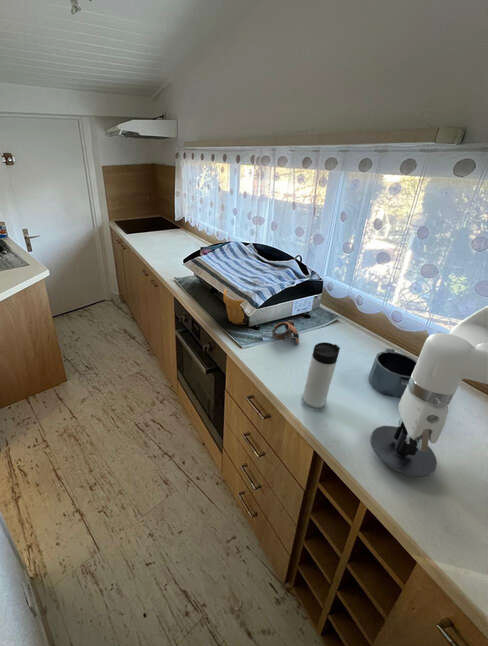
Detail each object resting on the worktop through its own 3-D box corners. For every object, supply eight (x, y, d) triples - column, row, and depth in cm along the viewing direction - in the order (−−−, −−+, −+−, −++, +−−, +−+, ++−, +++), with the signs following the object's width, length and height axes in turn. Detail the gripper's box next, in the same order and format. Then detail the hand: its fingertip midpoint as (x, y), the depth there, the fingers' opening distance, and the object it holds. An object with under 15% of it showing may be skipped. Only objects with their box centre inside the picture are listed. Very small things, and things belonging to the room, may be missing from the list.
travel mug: (329, 408, 89) (345, 353, 80) (308, 411, 88) (322, 355, 79) (318, 392, 94) (332, 339, 85) (298, 395, 93) (310, 342, 84)
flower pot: (259, 327, 128) (262, 299, 122) (225, 328, 127) (227, 301, 121) (250, 310, 140) (253, 285, 134) (220, 312, 140) (221, 286, 133)
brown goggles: (299, 350, 114) (290, 335, 111) (275, 352, 120) (266, 337, 117) (304, 328, 122) (296, 313, 119) (282, 330, 128) (274, 316, 125)
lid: (422, 435, 78) (431, 416, 75) (445, 485, 66) (457, 466, 63) (364, 424, 81) (370, 406, 78) (377, 470, 70) (385, 451, 67)
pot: (403, 370, 103) (411, 349, 99) (423, 409, 88) (434, 387, 84) (363, 364, 106) (369, 344, 102) (375, 401, 91) (384, 379, 87)
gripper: (471, 422, 56) (436, 483, 65) (434, 366, 70) (409, 422, 79) (424, 414, 58) (396, 474, 67) (397, 361, 72) (377, 416, 81)
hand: (403, 445), depth 73 cm, fingers closed on lid, 3 cm apart
